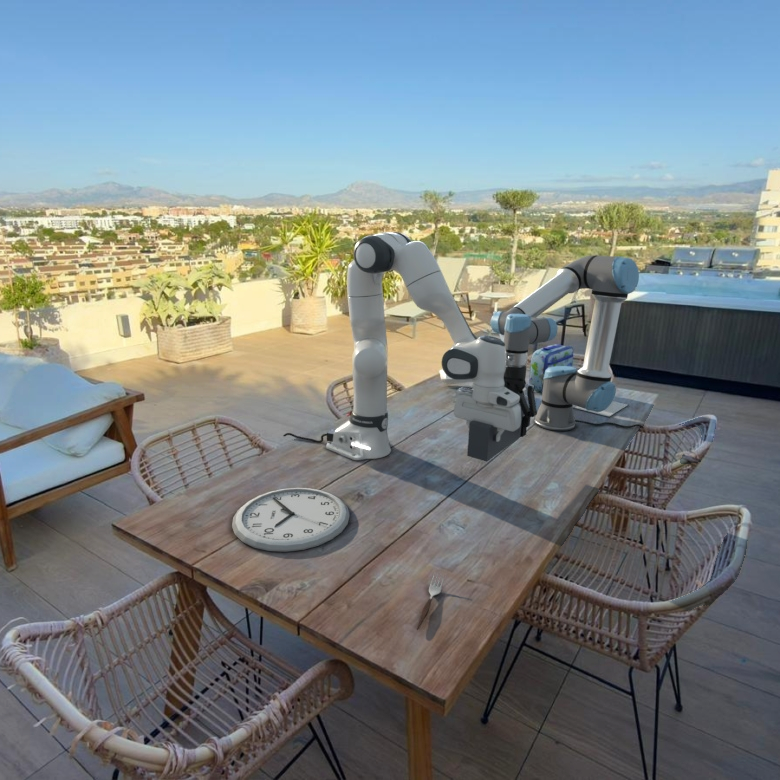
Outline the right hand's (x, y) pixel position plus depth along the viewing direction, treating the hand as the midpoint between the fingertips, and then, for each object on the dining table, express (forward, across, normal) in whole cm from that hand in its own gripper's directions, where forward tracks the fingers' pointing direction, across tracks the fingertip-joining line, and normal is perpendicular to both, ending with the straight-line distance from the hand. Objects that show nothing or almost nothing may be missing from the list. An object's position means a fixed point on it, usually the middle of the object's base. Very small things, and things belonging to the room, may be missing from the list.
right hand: (508, 431), depth 169 cm
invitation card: (+10, +9, +78) cm, 79 cm away
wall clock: (+10, -29, -68) cm, 74 cm away
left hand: (-4, 0, -17) cm, 17 cm away
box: (+2, 0, -8) cm, 9 cm away
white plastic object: (+10, -42, +62) cm, 76 cm away
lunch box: (+10, -18, +88) cm, 91 cm away
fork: (+10, +17, -73) cm, 76 cm away
